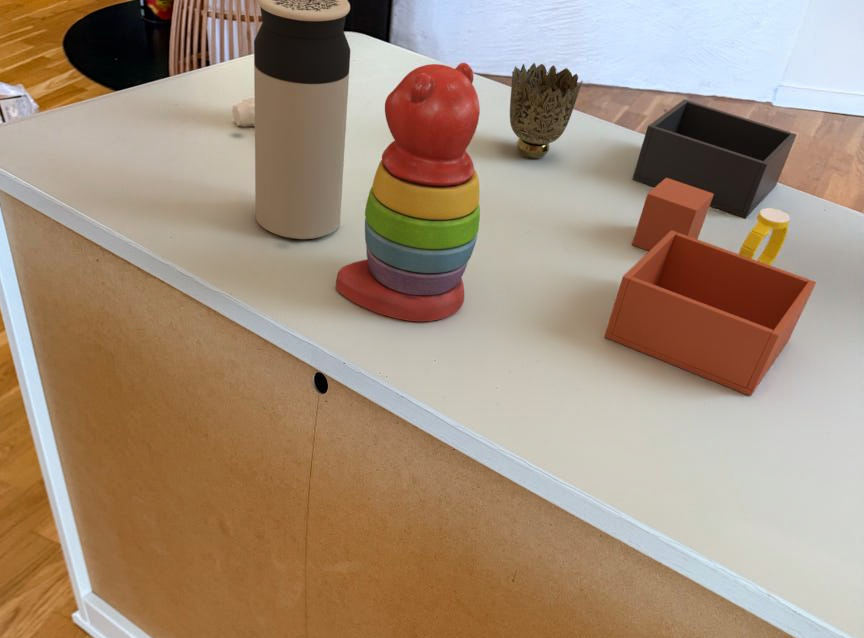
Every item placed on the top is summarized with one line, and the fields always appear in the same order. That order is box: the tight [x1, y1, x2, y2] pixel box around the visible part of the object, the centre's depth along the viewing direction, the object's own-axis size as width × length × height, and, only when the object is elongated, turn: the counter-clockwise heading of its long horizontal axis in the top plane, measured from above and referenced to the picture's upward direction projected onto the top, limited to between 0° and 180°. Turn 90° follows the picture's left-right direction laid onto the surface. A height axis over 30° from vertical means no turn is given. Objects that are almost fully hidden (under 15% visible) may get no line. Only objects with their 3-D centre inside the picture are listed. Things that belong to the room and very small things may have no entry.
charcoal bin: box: [632, 99, 797, 219], centre depth 101 cm, size 13×11×6 cm
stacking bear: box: [335, 62, 481, 322], centre depth 74 cm, size 11×10×18 cm
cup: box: [509, 62, 584, 159], centre depth 100 cm, size 8×7×8 cm
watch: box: [738, 207, 790, 266], centre depth 87 cm, size 6×3×6 cm, turn 133°
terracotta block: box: [631, 178, 714, 252], centre depth 90 cm, size 5×5×5 cm
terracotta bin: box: [604, 230, 817, 397], centre depth 78 cm, size 13×11×6 cm
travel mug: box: [253, 0, 351, 240], centre depth 80 cm, size 8×8×18 cm
